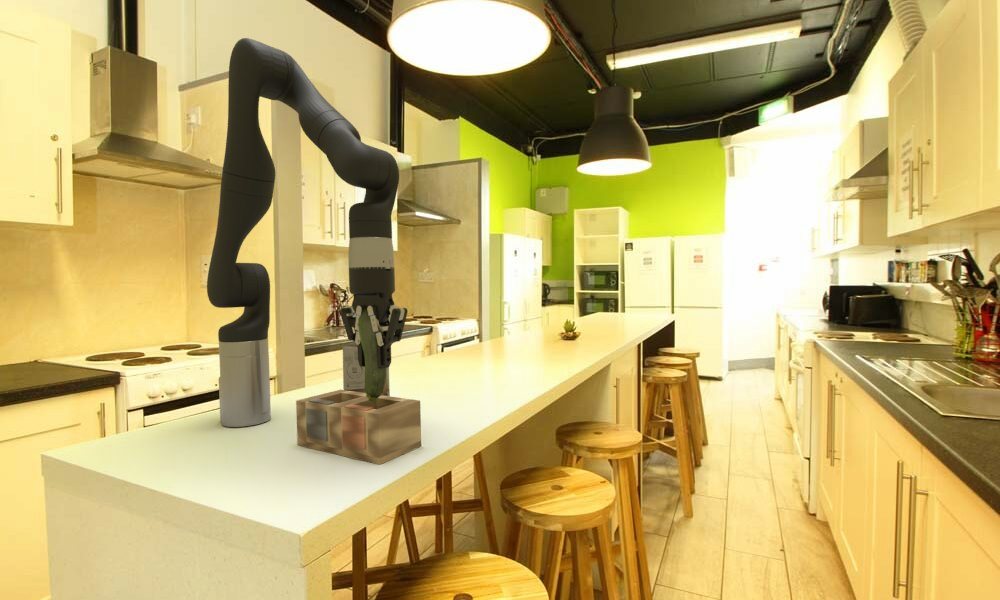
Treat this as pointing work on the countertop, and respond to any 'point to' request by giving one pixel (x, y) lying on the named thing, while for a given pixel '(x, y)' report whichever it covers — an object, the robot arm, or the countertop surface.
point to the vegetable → (371, 358)
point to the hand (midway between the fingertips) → (374, 366)
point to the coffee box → (357, 372)
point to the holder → (359, 425)
